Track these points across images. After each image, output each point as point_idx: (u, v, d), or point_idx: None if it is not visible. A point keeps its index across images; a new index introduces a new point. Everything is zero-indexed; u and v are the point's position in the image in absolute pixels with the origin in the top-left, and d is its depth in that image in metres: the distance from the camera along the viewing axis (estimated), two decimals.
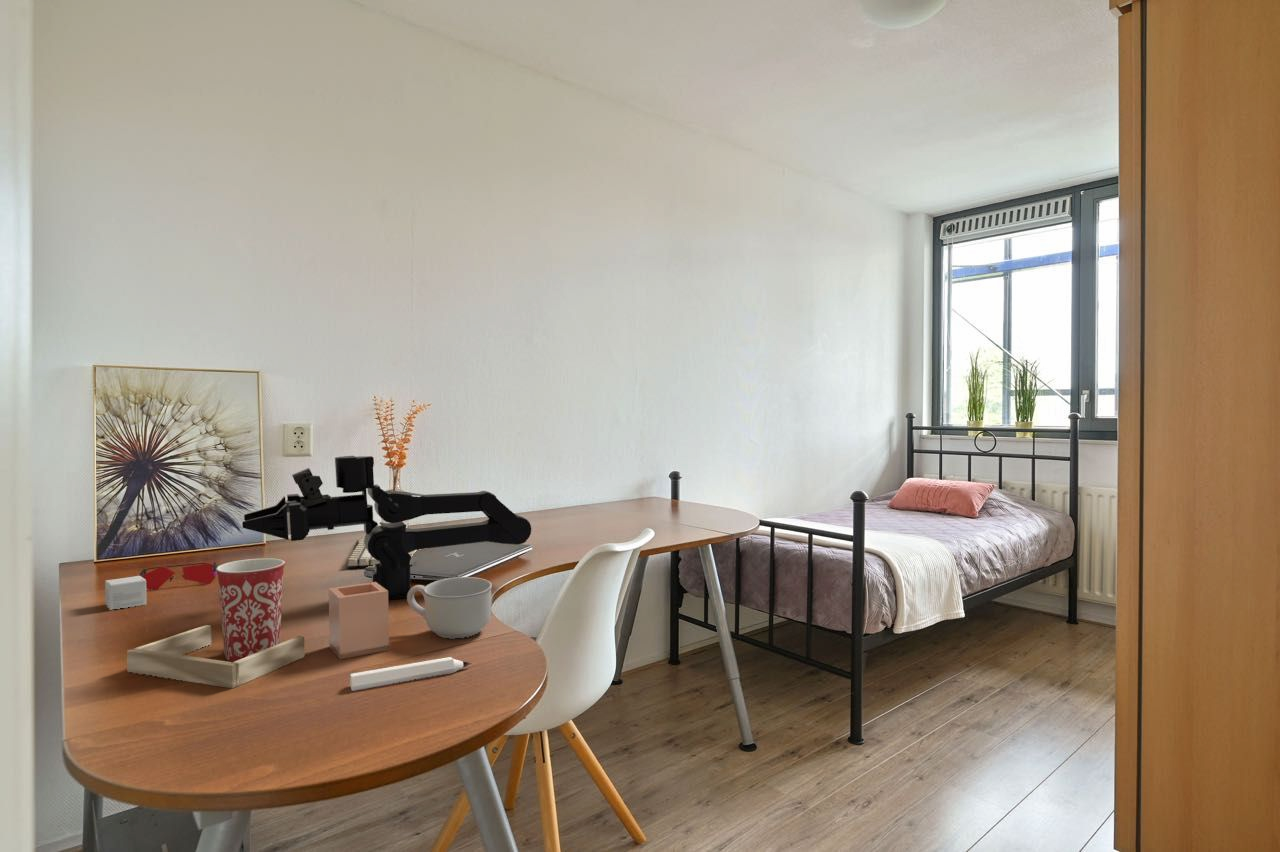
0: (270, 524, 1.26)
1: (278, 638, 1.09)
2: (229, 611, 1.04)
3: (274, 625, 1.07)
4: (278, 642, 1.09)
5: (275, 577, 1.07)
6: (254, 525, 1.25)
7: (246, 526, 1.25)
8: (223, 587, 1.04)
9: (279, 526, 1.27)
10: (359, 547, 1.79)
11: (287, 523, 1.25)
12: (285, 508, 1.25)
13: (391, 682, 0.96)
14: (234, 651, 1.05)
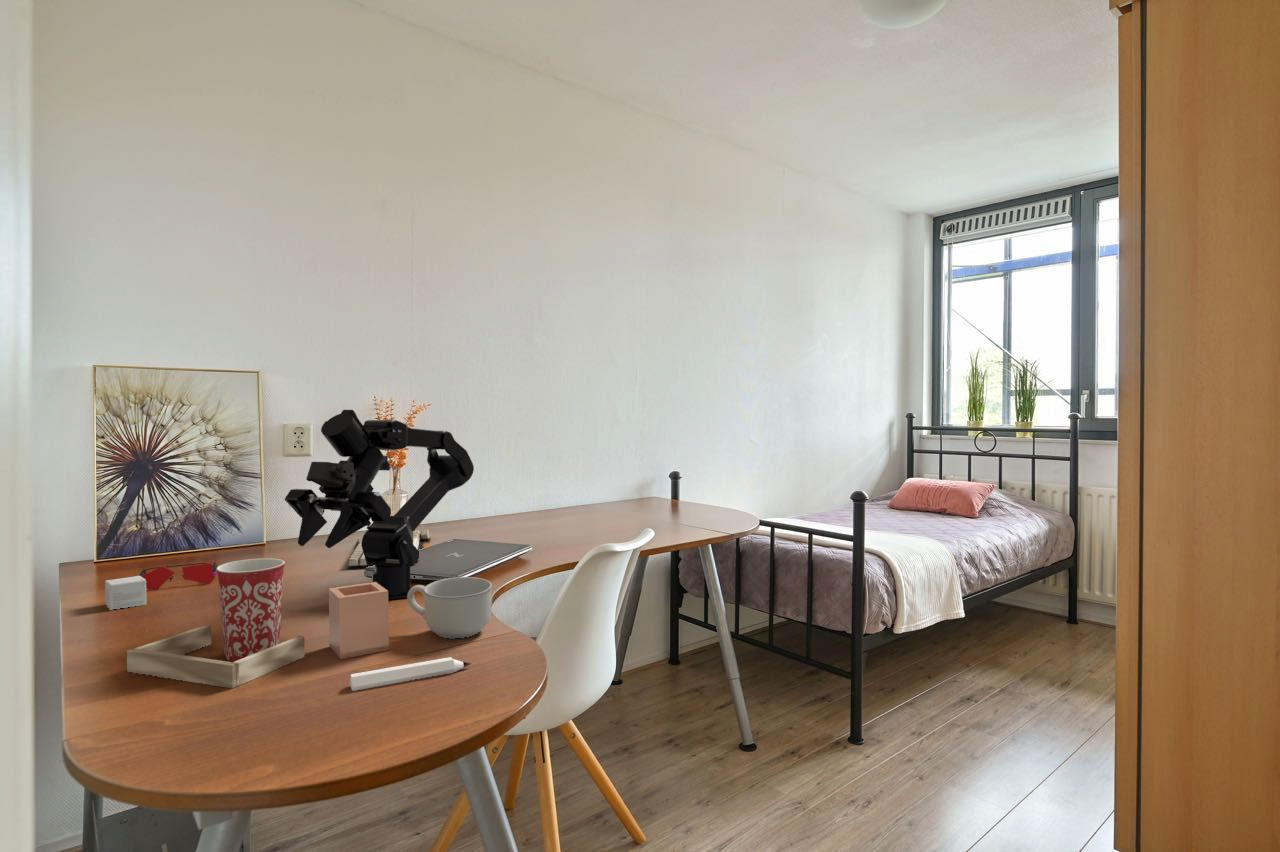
0: (346, 526, 1.23)
1: (278, 638, 1.09)
2: (229, 611, 1.04)
3: (274, 625, 1.07)
4: (278, 642, 1.09)
5: (275, 577, 1.07)
6: (336, 538, 1.22)
7: (331, 544, 1.21)
8: (223, 587, 1.04)
9: (351, 522, 1.24)
10: (360, 547, 1.79)
11: (363, 514, 1.24)
12: (355, 505, 1.22)
13: (391, 683, 0.96)
14: (234, 651, 1.05)
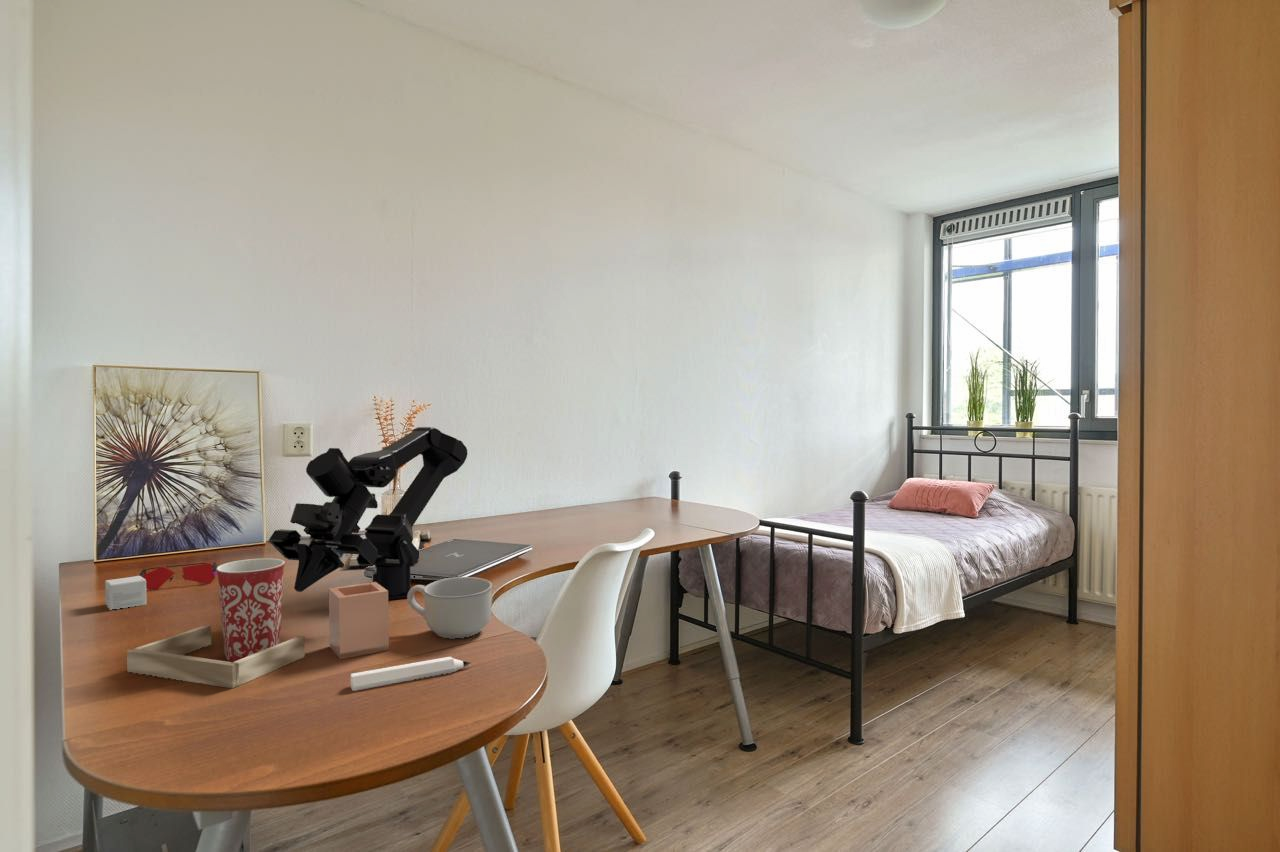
0: (318, 569, 1.21)
1: (278, 638, 1.09)
2: (229, 611, 1.04)
3: (274, 625, 1.07)
4: (278, 642, 1.09)
5: (275, 577, 1.07)
6: (308, 582, 1.19)
7: (303, 588, 1.18)
8: (223, 587, 1.04)
9: (324, 564, 1.22)
10: None
11: (336, 556, 1.22)
12: (327, 548, 1.20)
13: (392, 682, 0.96)
14: (234, 651, 1.05)
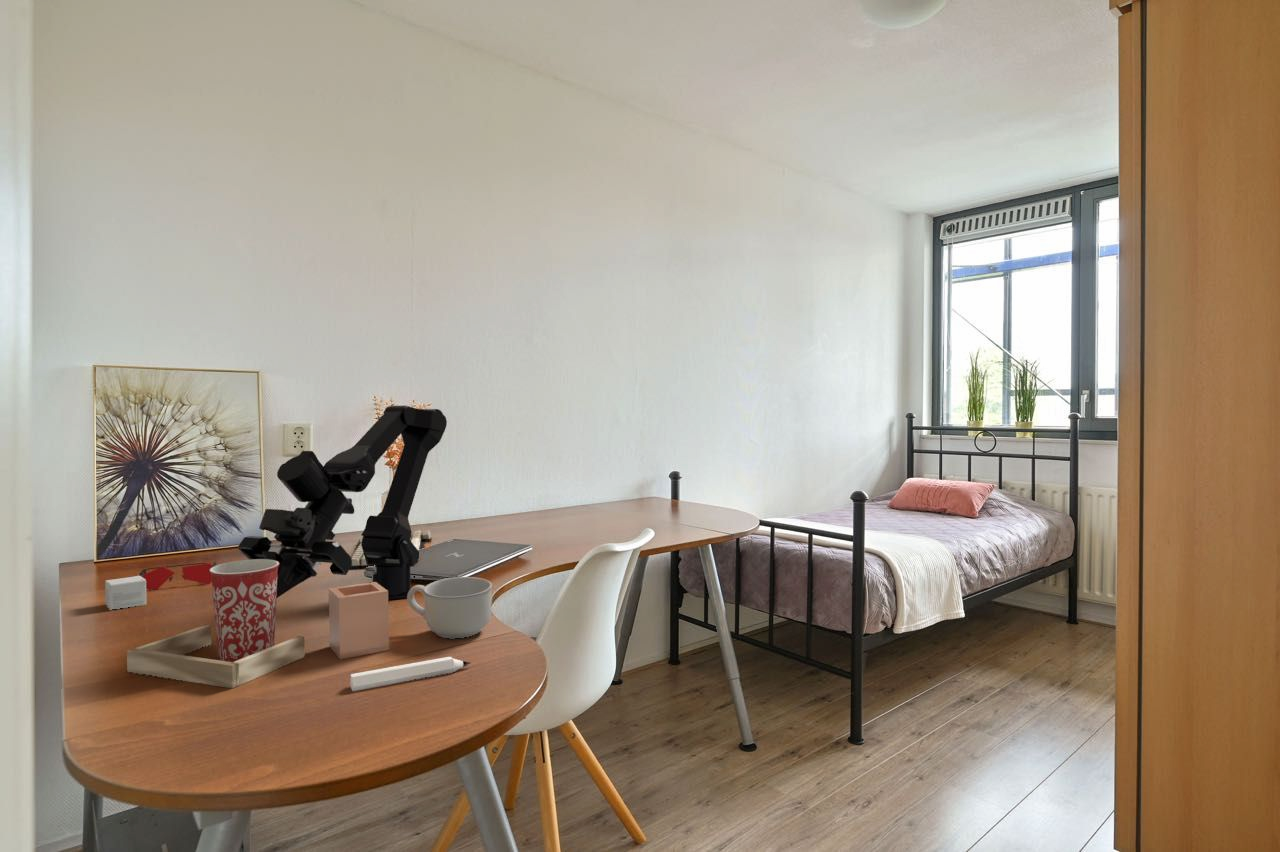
0: (289, 578, 1.15)
1: (273, 639, 1.08)
2: (224, 613, 1.03)
3: (269, 626, 1.07)
4: (273, 643, 1.08)
5: (270, 578, 1.06)
6: (278, 591, 1.13)
7: None
8: (217, 589, 1.03)
9: (295, 573, 1.16)
10: (361, 547, 1.79)
11: (308, 564, 1.16)
12: (298, 556, 1.14)
13: (392, 682, 0.96)
14: (229, 653, 1.04)
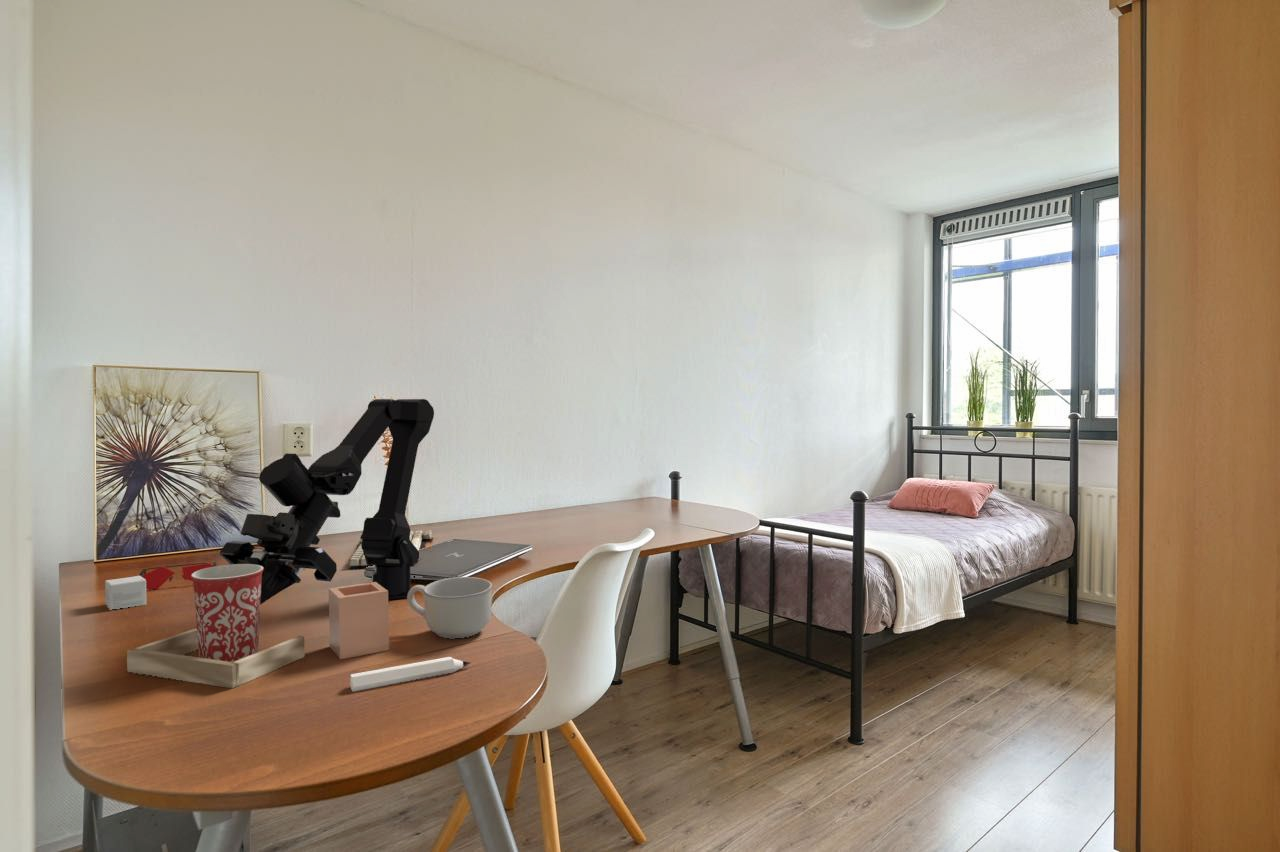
0: (272, 585, 1.11)
1: (257, 645, 1.06)
2: (209, 619, 1.00)
3: (255, 632, 1.04)
4: (257, 649, 1.06)
5: (256, 582, 1.04)
6: None
7: None
8: (201, 595, 1.00)
9: (278, 579, 1.13)
10: (361, 547, 1.79)
11: (292, 570, 1.12)
12: (281, 562, 1.10)
13: (392, 683, 0.96)
14: None
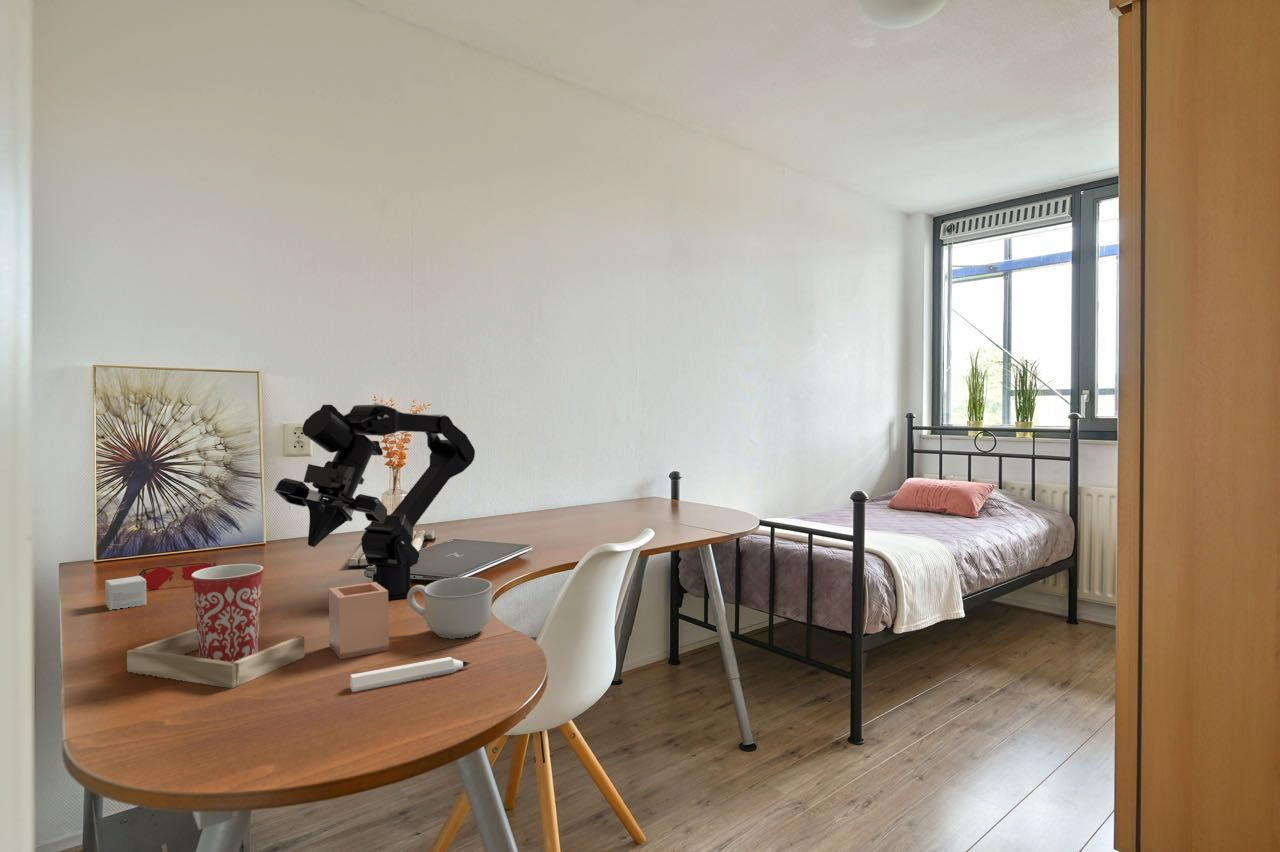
0: (329, 524, 1.26)
1: (257, 645, 1.06)
2: (209, 619, 1.00)
3: (255, 632, 1.04)
4: (257, 649, 1.06)
5: (256, 582, 1.04)
6: (321, 537, 1.25)
7: (316, 543, 1.24)
8: (201, 595, 1.00)
9: (334, 519, 1.27)
10: None
11: (347, 513, 1.26)
12: (340, 508, 1.24)
13: (392, 683, 0.96)
14: None
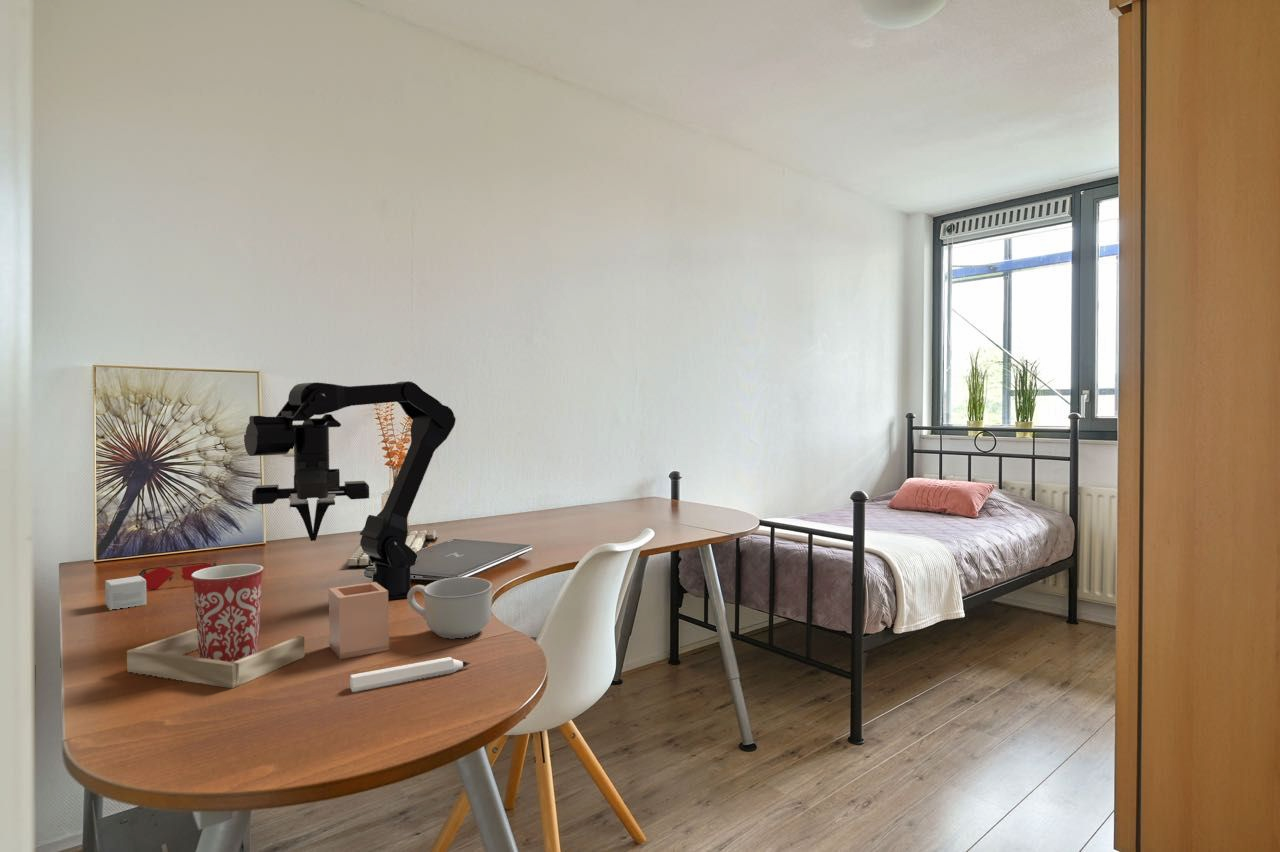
0: None
1: (257, 645, 1.06)
2: (209, 619, 1.00)
3: (255, 632, 1.04)
4: (257, 649, 1.06)
5: (256, 582, 1.04)
6: None
7: None
8: (201, 595, 1.00)
9: None
10: None
11: (334, 500, 1.31)
12: (334, 503, 1.29)
13: (392, 683, 0.96)
14: None
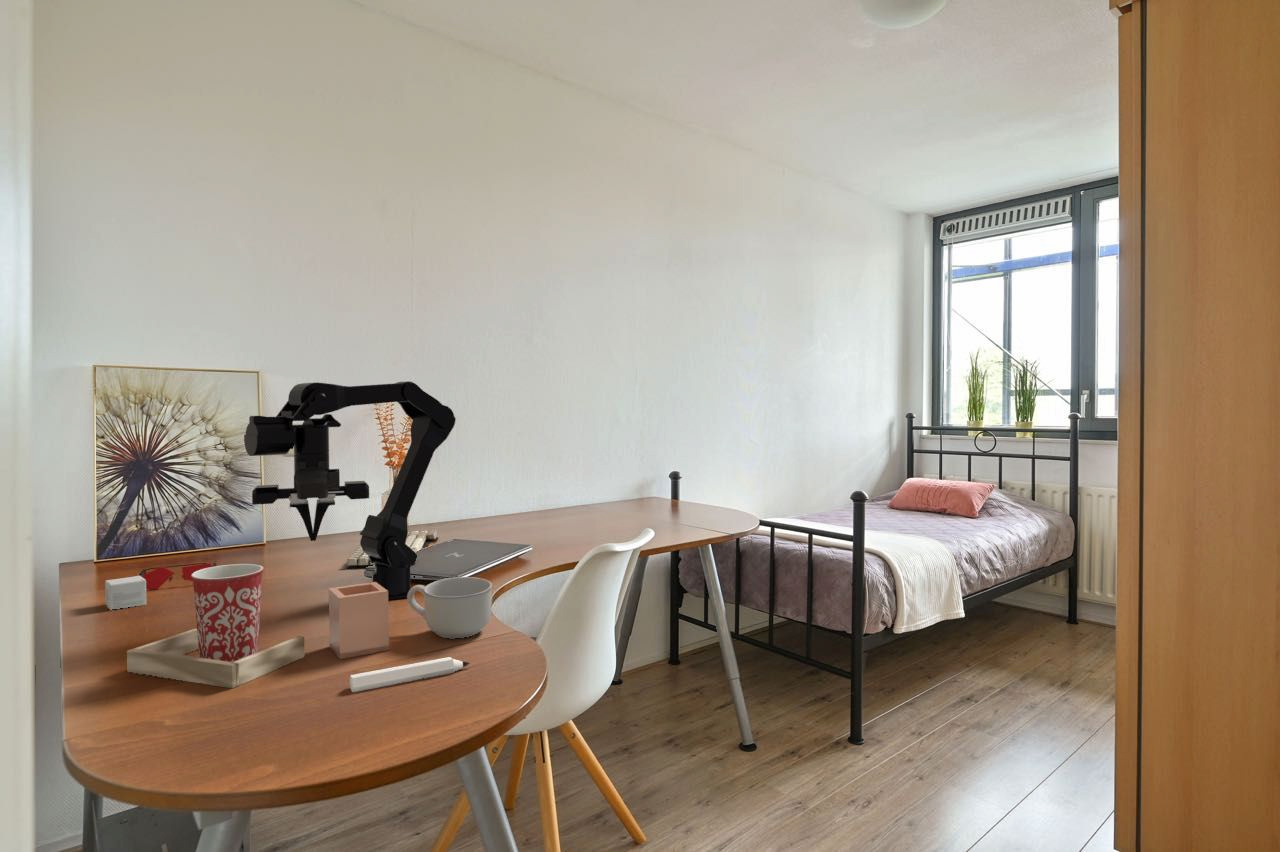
0: None
1: (257, 645, 1.06)
2: (209, 619, 1.00)
3: (255, 632, 1.04)
4: (257, 649, 1.06)
5: (256, 582, 1.04)
6: None
7: None
8: (201, 595, 1.00)
9: None
10: None
11: (334, 500, 1.31)
12: (334, 503, 1.29)
13: (392, 683, 0.96)
14: None
